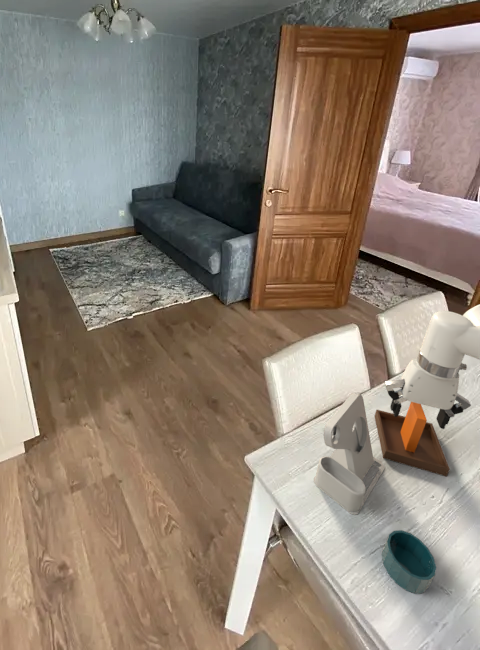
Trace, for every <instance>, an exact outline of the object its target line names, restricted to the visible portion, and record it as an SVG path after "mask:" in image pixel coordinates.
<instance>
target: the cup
mask: <svg viewBox="0 0 480 650" xmlns="http://www.w3.org/2000/svg"><path fill="white" fill-rule="evenodd" d="M381 558H382V559H381V560H382V564H383V566H384V568H385V571H386V572H387V575H388V576H389V577H390V578H391V579H392V580H393V581H394V583H395V584H396V585H398V586H399V587H400V588H401V589H403V590H405V591H406V592H408V593H412V594H417V595H418V594H424V593H425V592H426V591H427V590H429V588H430V586H431V583H432V581H433V580H434V578H435V576H436V572H437V564H436V561H435V557H434V556H433V554H432V552H431V550H430V549H429V547H428V546H427V545H426V544H425V543H424V542H423V541H422V540H421V539H420V538H418V536H416V535H414V534H412V532H409V531H405V530H402V529H399V530H398V529H397V530H393V531H392V532H391V533H389V534H388V536H387V539H386V541H385V544H384V547H383V549H382V553H381Z"/></svg>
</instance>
